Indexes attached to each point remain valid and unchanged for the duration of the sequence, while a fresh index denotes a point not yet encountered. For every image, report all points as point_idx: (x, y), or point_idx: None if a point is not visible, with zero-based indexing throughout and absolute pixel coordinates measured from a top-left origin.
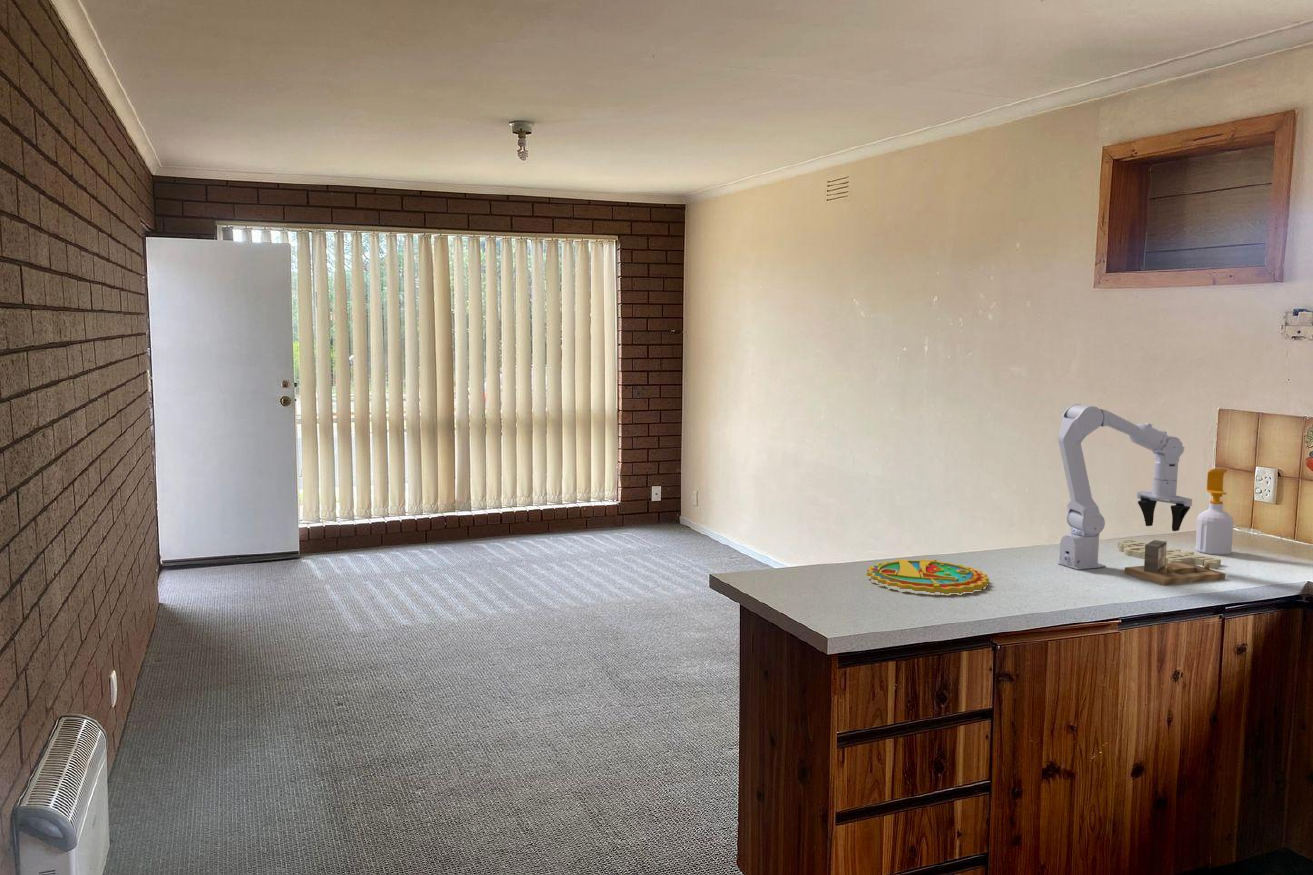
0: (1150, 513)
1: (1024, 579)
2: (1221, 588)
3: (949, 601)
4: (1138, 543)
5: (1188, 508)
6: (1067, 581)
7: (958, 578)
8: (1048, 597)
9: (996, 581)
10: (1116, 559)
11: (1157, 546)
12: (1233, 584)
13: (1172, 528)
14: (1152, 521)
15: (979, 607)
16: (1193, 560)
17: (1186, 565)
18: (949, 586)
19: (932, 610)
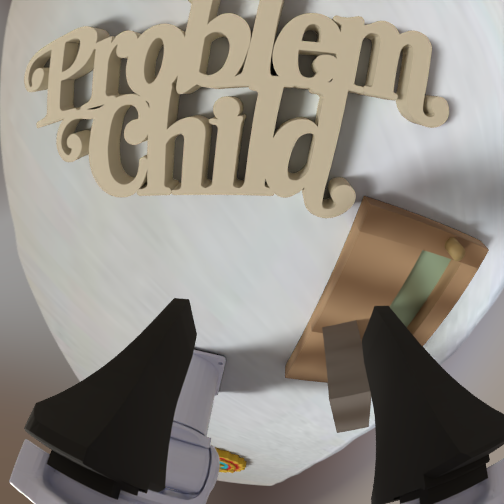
0: (162, 388)
1: (226, 436)
2: (471, 315)
3: (253, 468)
4: (63, 61)
5: (493, 433)
6: (262, 426)
7: None
8: (295, 451)
9: (220, 445)
10: (163, 267)
11: (367, 426)
12: (491, 268)
13: (366, 355)
14: (180, 322)
15: (278, 468)
16: (354, 92)
17: (395, 249)
18: (235, 469)
19: (264, 473)
